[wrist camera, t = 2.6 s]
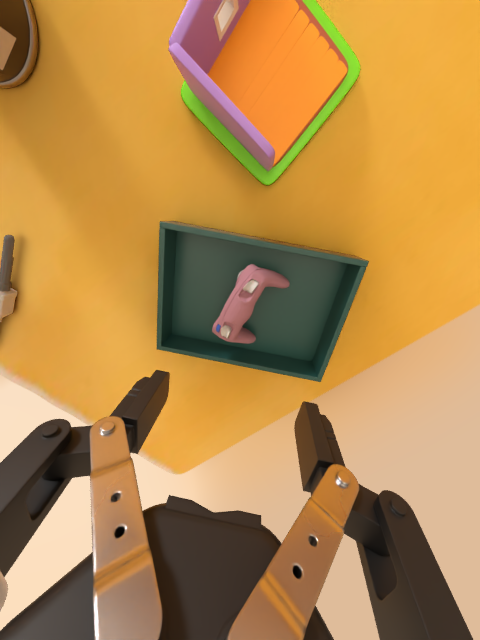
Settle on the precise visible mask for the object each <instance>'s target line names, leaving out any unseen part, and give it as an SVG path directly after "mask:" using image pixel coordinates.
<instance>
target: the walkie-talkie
mask: <svg viewBox="0 0 480 640" xmlns="http://www.w3.org/2000/svg"><path fill="white" fill-rule="evenodd" d="M13 249H14V237H13V236H12V235H6V236H5V237H4V243H3V251H2V260H1V268H0V322H1V321H2V318H3V317H5V316H8V315H10V314H12V313H13V309H14V303H15V297H16V296H17V291H16V290H14V289H12V288H11V282H10V279H11V272H12V265H13V257H12V256H13Z"/></svg>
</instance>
